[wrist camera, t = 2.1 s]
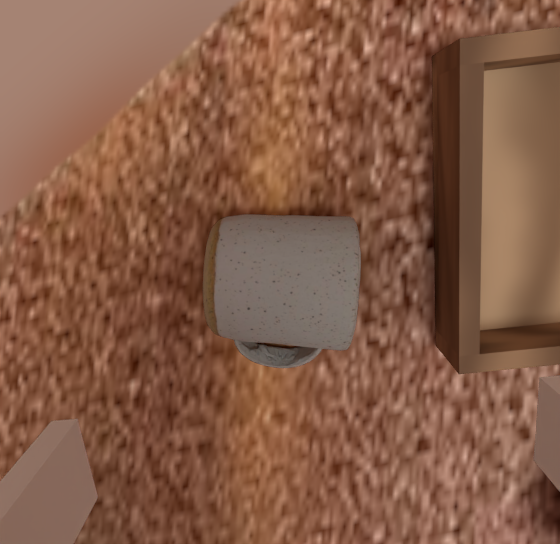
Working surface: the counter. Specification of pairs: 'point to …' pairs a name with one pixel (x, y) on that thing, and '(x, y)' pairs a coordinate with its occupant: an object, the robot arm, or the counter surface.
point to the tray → (497, 200)
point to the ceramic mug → (283, 285)
